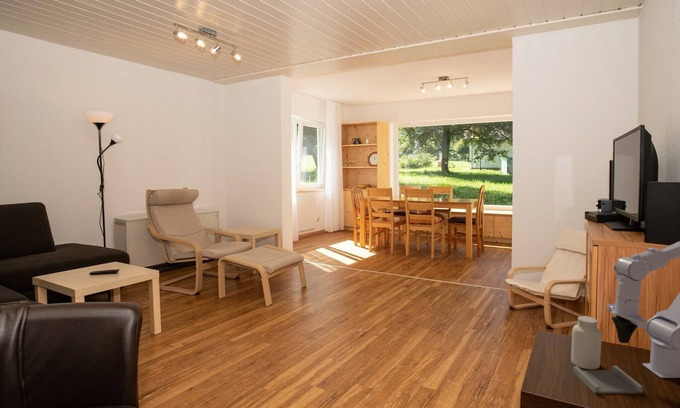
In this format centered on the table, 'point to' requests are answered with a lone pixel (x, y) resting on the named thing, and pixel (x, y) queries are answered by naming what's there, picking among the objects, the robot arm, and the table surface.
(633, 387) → the grey tray
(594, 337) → the pill bottle
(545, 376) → the table surface
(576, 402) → the table surface
